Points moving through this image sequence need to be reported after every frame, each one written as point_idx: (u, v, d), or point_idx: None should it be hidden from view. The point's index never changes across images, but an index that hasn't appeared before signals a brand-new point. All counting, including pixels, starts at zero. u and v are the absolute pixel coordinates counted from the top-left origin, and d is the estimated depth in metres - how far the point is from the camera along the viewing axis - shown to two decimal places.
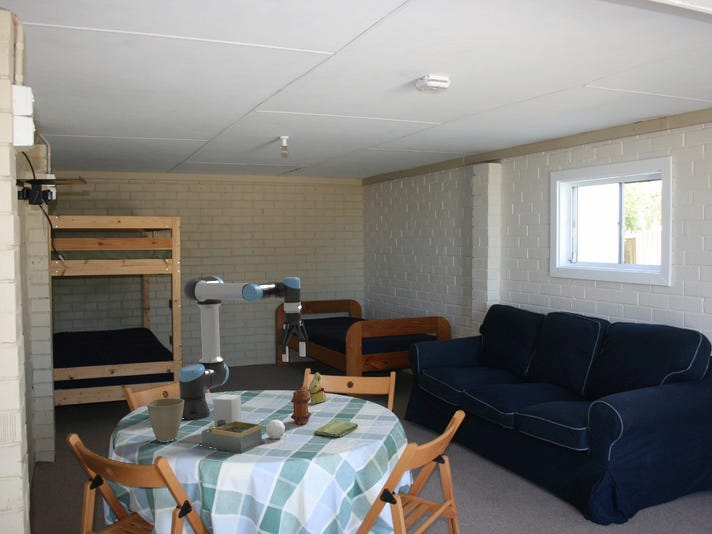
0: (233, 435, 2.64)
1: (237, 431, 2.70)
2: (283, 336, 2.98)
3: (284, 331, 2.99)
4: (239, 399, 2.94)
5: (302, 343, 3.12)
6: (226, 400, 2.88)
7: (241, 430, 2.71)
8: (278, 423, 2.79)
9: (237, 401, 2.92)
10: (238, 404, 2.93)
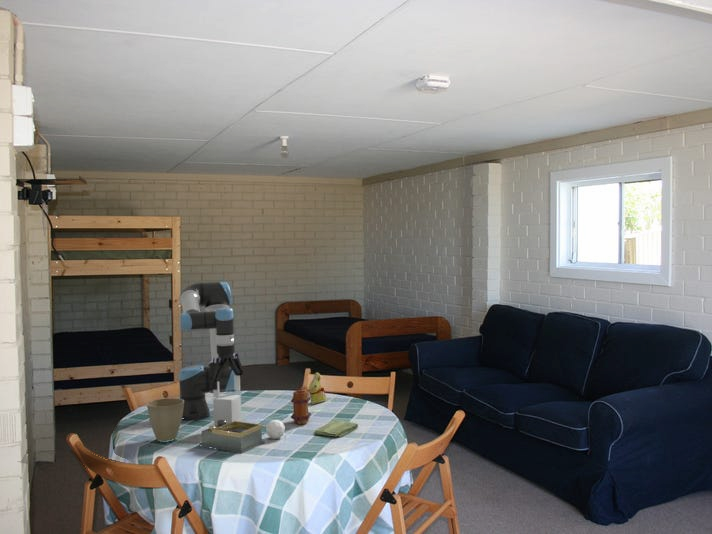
0: (233, 435, 2.64)
1: (237, 431, 2.70)
2: (214, 371, 2.84)
3: (215, 365, 2.85)
4: (239, 399, 2.94)
5: (237, 377, 2.97)
6: (226, 400, 2.88)
7: (241, 430, 2.71)
8: (278, 423, 2.79)
9: (237, 401, 2.92)
10: (238, 404, 2.93)
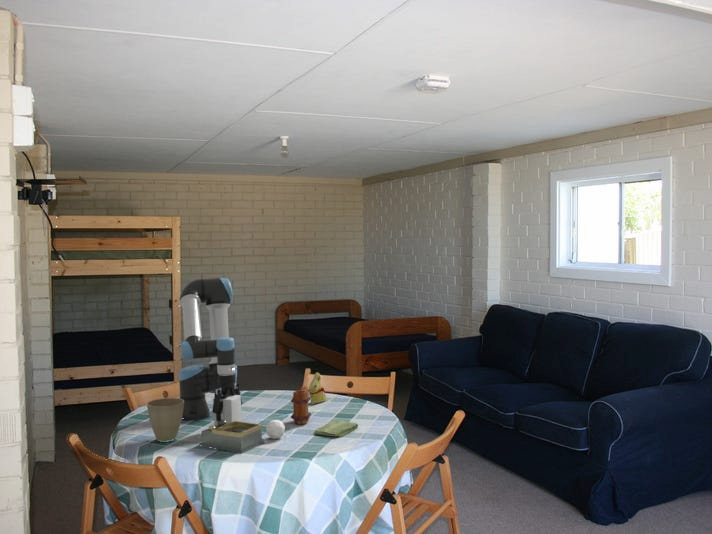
0: (233, 435, 2.64)
1: (237, 431, 2.70)
2: (216, 403, 2.86)
3: (217, 397, 2.86)
4: (239, 399, 2.94)
5: None
6: (226, 400, 2.88)
7: (241, 430, 2.71)
8: (278, 423, 2.79)
9: (237, 401, 2.92)
10: (238, 403, 2.93)
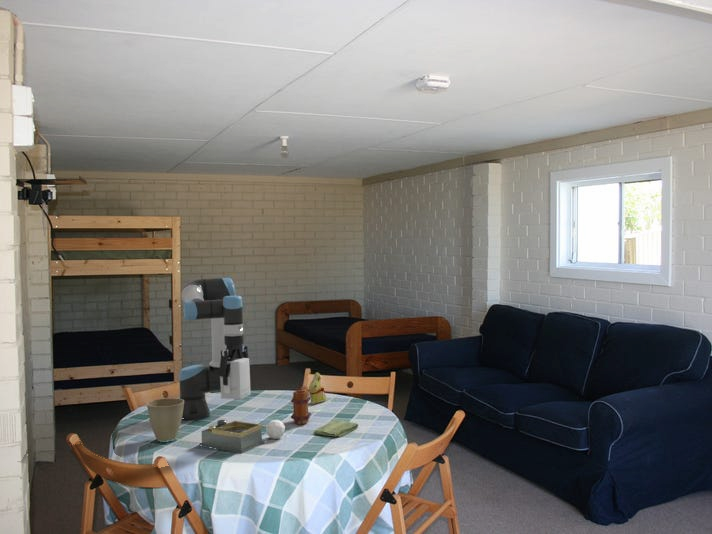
0: (233, 435, 2.64)
1: (237, 431, 2.70)
2: (223, 365, 2.64)
3: (223, 359, 2.65)
4: (247, 362, 2.72)
5: None
6: (233, 362, 2.66)
7: (241, 430, 2.71)
8: (278, 423, 2.79)
9: (245, 364, 2.70)
10: (246, 367, 2.71)
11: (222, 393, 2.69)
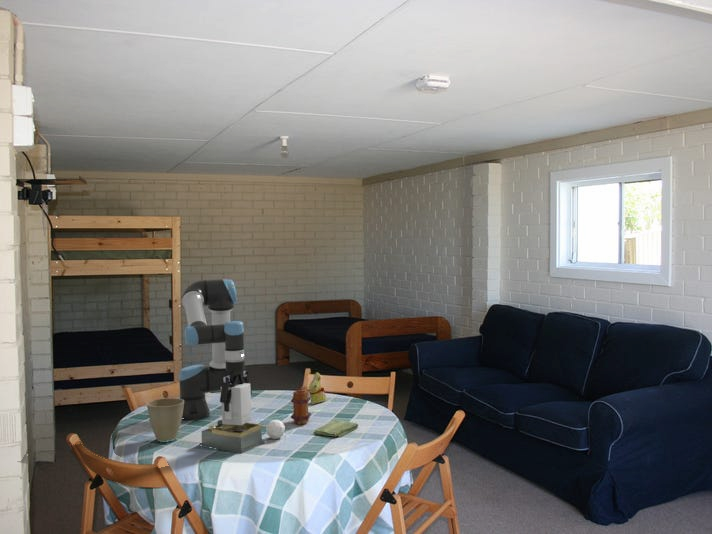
0: (233, 435, 2.64)
1: (237, 431, 2.70)
2: (224, 391, 2.64)
3: (225, 385, 2.65)
4: (249, 387, 2.72)
5: None
6: (235, 388, 2.66)
7: (241, 430, 2.71)
8: (278, 423, 2.79)
9: (246, 390, 2.70)
10: (248, 392, 2.71)
11: (223, 419, 2.69)
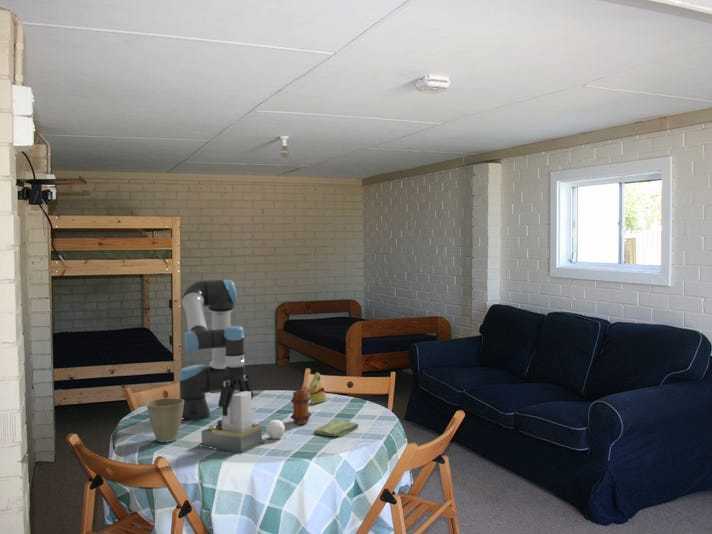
0: (233, 435, 2.64)
1: None
2: (223, 395, 2.64)
3: (224, 389, 2.65)
4: (249, 395, 2.73)
5: None
6: (235, 396, 2.67)
7: None
8: (278, 423, 2.79)
9: (246, 398, 2.70)
10: (248, 400, 2.72)
11: (223, 427, 2.69)
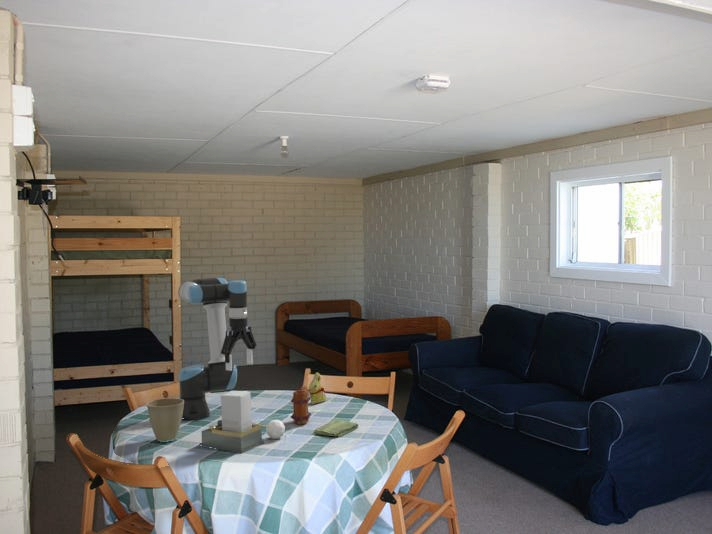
0: (233, 435, 2.64)
1: None
2: (226, 344, 2.80)
3: (227, 338, 2.81)
4: (249, 396, 2.73)
5: (249, 350, 2.94)
6: (235, 397, 2.67)
7: None
8: (278, 423, 2.79)
9: (246, 398, 2.70)
10: (248, 401, 2.72)
11: (223, 427, 2.69)
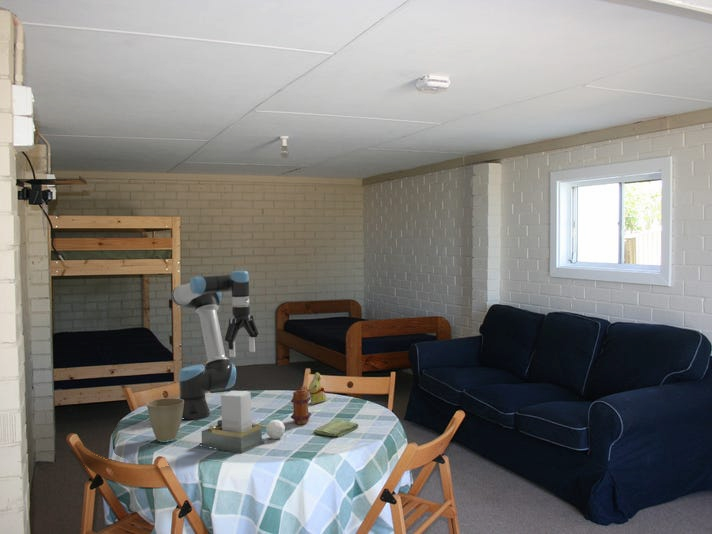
0: (233, 435, 2.64)
1: None
2: (230, 331, 2.92)
3: (231, 326, 2.93)
4: (249, 396, 2.73)
5: (251, 338, 3.05)
6: (235, 397, 2.67)
7: None
8: (278, 423, 2.79)
9: (246, 398, 2.70)
10: (248, 401, 2.72)
11: (223, 427, 2.69)
